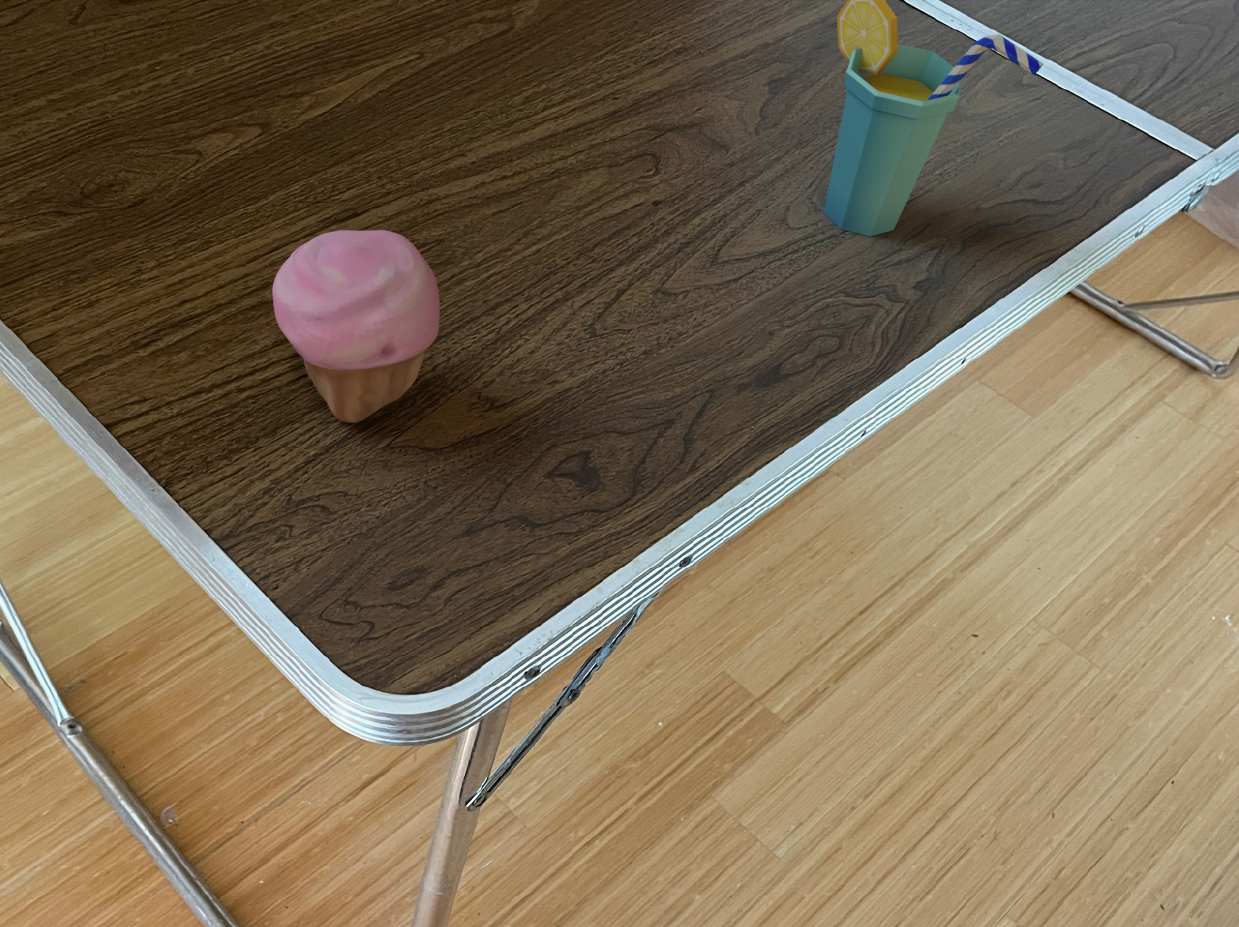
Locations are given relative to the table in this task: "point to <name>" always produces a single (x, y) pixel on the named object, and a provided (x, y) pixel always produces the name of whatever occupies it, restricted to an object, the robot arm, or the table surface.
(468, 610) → the table surface
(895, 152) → the cup
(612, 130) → the table surface
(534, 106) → the table surface
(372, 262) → the cupcake
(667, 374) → the table surface
